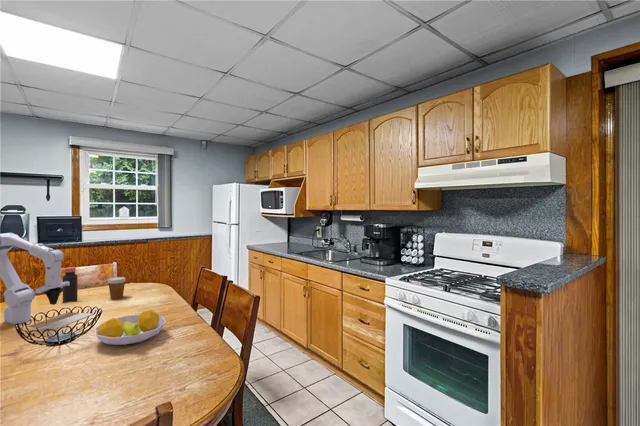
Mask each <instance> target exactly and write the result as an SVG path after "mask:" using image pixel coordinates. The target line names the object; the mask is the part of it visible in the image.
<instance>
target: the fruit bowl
mask: <svg viewBox="0 0 640 426" xmlns="http://www.w3.org/2000/svg"><path fill="white" fill-rule="evenodd" d="M166 323H167V321H166V319H165V318H164V317H163V316H162V315H160V314H158V313H157V312H156V311H155V310H153V309H147V310H144V311H142V312H141V313H140V314H134V315H126V316H121V317H119V318H116V317H112V318H110V319H108V320H106V321H105V322H103V323H101V324H100V325H98V326H96V327H95V328H94V335H95V337H96V338H97V339H98V340H99V341H101V342H102V343H104V344H106V345H107V344H108V345H114V346H121V345H129V344H131V345H132V344H139V343H142V342H144V341H146V340H148V339H150V338H152V337H154V336H157V335H158V334H159V333H160V332H161V330H162V329H163V327H164V326H165V324H166Z"/></svg>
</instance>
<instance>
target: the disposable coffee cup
mask: <svg viewBox="0 0 640 426" xmlns="http://www.w3.org/2000/svg"><path fill="white" fill-rule="evenodd" d="M126 281H127V278H126V277H125V276H114V277H109V278H108V279H107V284H108V289H109V296H110V297H109V298H110V300H119V299H122V298H123V297H124V292H125V285H126Z"/></svg>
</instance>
